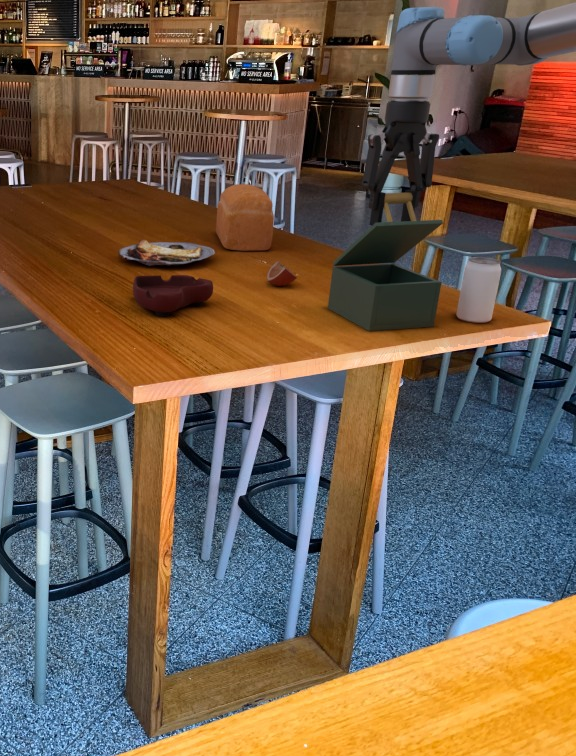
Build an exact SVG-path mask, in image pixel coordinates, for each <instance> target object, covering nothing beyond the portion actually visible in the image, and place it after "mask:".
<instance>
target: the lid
mask: <svg viewBox="0 0 576 756" xmlns="http://www.w3.org/2000/svg"><path fill="white" fill-rule="evenodd" d="M384 193H385V200H384V207H383V212H384V214H385V219H386V221H381V222H379V223H375V224H374V225H373V226H371V225H370V227H369V228H368V229H367V230H366V231H364V233H363V234H362V235H360V236H359V238H357V240H355V241H354V242H353V243H352V244H351V245H350V246H349V247H348V248H347V249H346V250H344V252H342V253H341V254H340V255H339V256H338V257H337V258H336V259H335V260H334V261H333V262H332V267H336V266H337V267H338V266H355V265H374V264H392V263H394V264H396V262H397V261H398V260H400V259H402V258H403V256H405V255H406V254H407V253H408V252H410V251H411V250H412V249H414V248H415V247H416V246H417V245H418V244H419V243H421V242H422V241H423V240H424V239H426V238H427V237H428V236H429V235H431V234H432V233H433V232H434V231H435V230H437V229H438V228H439V227H441V226H442V225H443V224H444V222H443V219H427V220H425V219H424V220H417V218H416V217H417V216H416V214H415V210H413V207H412V203H411V201H412V199H413V196H412V193H410V192H409V193H405V192H384ZM403 203H406V205H407V209H408V212H409V216H410V219H411V221H402V222H401V221H393V216H392V213H391V210H390V205H395V204H397V205H398V204H403Z"/></svg>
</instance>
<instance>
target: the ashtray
mask: <svg viewBox="0 0 576 756" xmlns="http://www.w3.org/2000/svg"><path fill="white" fill-rule="evenodd" d="M132 284H133V285H132V295H133V298H134V299H135V303H137V304H138V305H139V306H140V307H141V308H143V309H145V310H148V311H152V312H155V316H157V317H161V318H162V317H165V318H166V317H169V316H171V312H175V311H178V309H182V308H183V309H184V308H185V307H187V306H195V307H200V306H203V305H204V302H206V301H208V300H209V299H210V298H211V297H212V296H213V293H214V283H213V280H211V279H207V278H201V277H198V278H195V277H194V276H192V275H188V274H171V275H170V277H169V279H164V278H163V277H162V275H160V274H159V275H157V274H155V275H136V276H135V277H134V279H133V283H132Z"/></svg>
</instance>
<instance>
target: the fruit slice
mask: <svg viewBox="0 0 576 756" xmlns="http://www.w3.org/2000/svg"><path fill="white" fill-rule="evenodd" d="M296 279H298V277H297V276H296V275H295V274H294V273H293V272H292V271H291V270H290V269H289V268H288V267H286V266H285V264H282V263H281V262H280V261H278V260H277V261H275V263H273V265H272V266H270V268H269V270H268V272H267V274H266V281H267V282H268V283H270V284H271V285H272V286H276V287H283V286H287V285H290V284H291V283H293V282H294V281H296Z"/></svg>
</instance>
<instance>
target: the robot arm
mask: <svg viewBox="0 0 576 756" xmlns="http://www.w3.org/2000/svg"><path fill="white" fill-rule="evenodd" d="M445 14H446V13H445V9H444V8H443V7H440V6H439V7H438V6H421V7H420V6H419V7H408V8H405V9H403V10H402V11H401V12H400V14H399V18H398V23H397V27H396V32H395V34H394V35H395V38H394V39H395V40H394V46H393V47H394V48H393V55H392V64H391V70H390V71H391V72H390V79H389V80H390V81H389V86H388V94H387V97H388V98H389V99H390V100H389V101H388V102H387V103H386V106H385V115H384V121H385V122H384V123H385V125H384V127H383V129H382V131H381V132H379V133H376V134H373V133H371V134H369V135H367V145H368V149H367V154H366V160H365V165H364V170H363V176H362V181H361V188H363V189H366V190H368V191H369V192H370V194H369V201H368V208H369V209H371V211H370V218H369V226H370V227H371V226H373V225H374V224H375V223H379V222H383V221H382V220H383V214H384V200H385V193H386V192H383V189H384V187H385V185H386V182H387V179H388V177H389V176H390V172H391V170H392V167H393V165H394V162H395V160H396V159H397V158H398V157H399V155H400V153H403V155H404V156H405V162H406V170H407V178H408V185H409V189H405V191H404V193H409V192H410V193H412V196H413V199H412V201H411V203H412V207H413V210H414V211H415V209H416V208H418V207H419V204H420V198H421V193H422V192H424V191H425V190H426V188H431V186H432V184H433V175H434V164H435V154H436V147H437V145H438V142H439V140H440V134H439V133H432V132H429V131H428V130H427V126H426V125H427V122H428V120H429V116H430V110H431V103H430V101H429V99H431V98H432V97H433V93H434V84H435V78H436V73H437V72H436V71H437V66H439V65H440V66H465V67H466V66H482V65H484V66H485V65H486V66H487V65H492V66H493V65H494V66H495V65H512V66H513V65H515V66H530V65H535V64H539V63H542V62H544V61H545V60H546V59H548V58H551V57H556V56H561V55H565V54H569V53H575V52H576V1H574V2H571V3H568V4H563V5H561V6H556V7H553V8H550V9H545V10H542V11H540V12H535V13H532V14H527V15H524V16H519V17H502V16H501V17H498V16H497V17H496V16H492V15H488V14H487V15H484V14H470V15H467V16H457V17H448V18H445ZM421 142H422V144H421ZM384 143H385V145H384V148H383V150H382V147H383V146H382V145H383V144H384ZM420 144H421V145H422V146H420ZM420 147H421V148H420ZM381 153H382V154H381ZM381 155H382V156H381ZM380 158H381V159H380ZM400 218H401V219H400V222H402V221H411V219H410V216H409V212H408V209H407V205H406V203H402V210H401V217H400Z"/></svg>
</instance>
